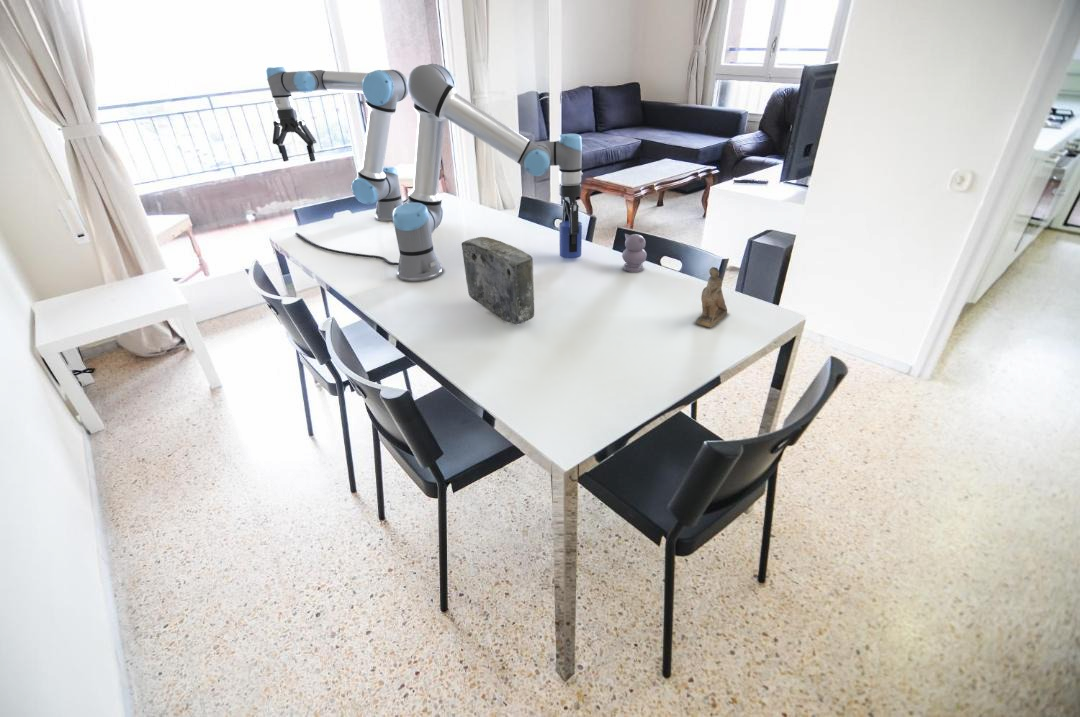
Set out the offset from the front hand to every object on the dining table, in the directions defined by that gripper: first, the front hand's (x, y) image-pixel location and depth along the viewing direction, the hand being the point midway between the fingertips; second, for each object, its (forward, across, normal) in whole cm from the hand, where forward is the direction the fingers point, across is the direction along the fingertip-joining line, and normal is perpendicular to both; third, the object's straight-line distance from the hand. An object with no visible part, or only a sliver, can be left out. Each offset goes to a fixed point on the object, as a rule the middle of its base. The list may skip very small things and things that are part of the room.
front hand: (570, 247), depth 182 cm
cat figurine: (+4, -16, -19) cm, 25 cm away
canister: (+3, 0, 0) cm, 3 cm away
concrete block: (+4, -40, +30) cm, 50 cm away
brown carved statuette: (+4, -57, -27) cm, 63 cm away
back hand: (-23, +82, +106) cm, 136 cm away
